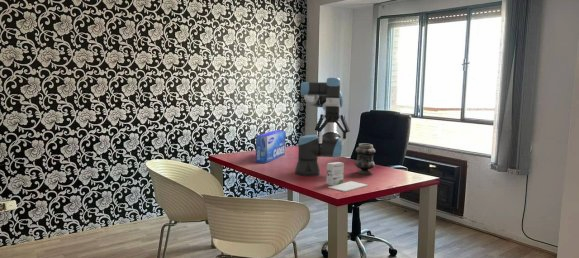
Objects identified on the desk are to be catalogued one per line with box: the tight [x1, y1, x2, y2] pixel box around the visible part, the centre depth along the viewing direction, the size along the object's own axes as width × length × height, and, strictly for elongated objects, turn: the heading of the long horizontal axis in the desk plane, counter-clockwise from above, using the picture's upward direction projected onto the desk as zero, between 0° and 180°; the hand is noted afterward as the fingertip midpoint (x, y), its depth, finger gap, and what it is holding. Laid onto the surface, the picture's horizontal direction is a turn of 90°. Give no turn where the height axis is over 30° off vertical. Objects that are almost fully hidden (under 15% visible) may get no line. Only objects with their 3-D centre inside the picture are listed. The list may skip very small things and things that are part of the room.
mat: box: [327, 180, 368, 193], centre depth 234 cm, size 11×20×1 cm, turn 136°
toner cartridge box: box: [254, 129, 287, 164], centre depth 313 cm, size 39×8×18 cm, turn 161°
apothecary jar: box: [354, 142, 376, 176], centre depth 269 cm, size 12×12×18 cm
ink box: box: [326, 161, 345, 186], centre depth 240 cm, size 8×5×12 cm, turn 125°
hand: (331, 144), depth 244 cm, fingers open, 13 cm apart
